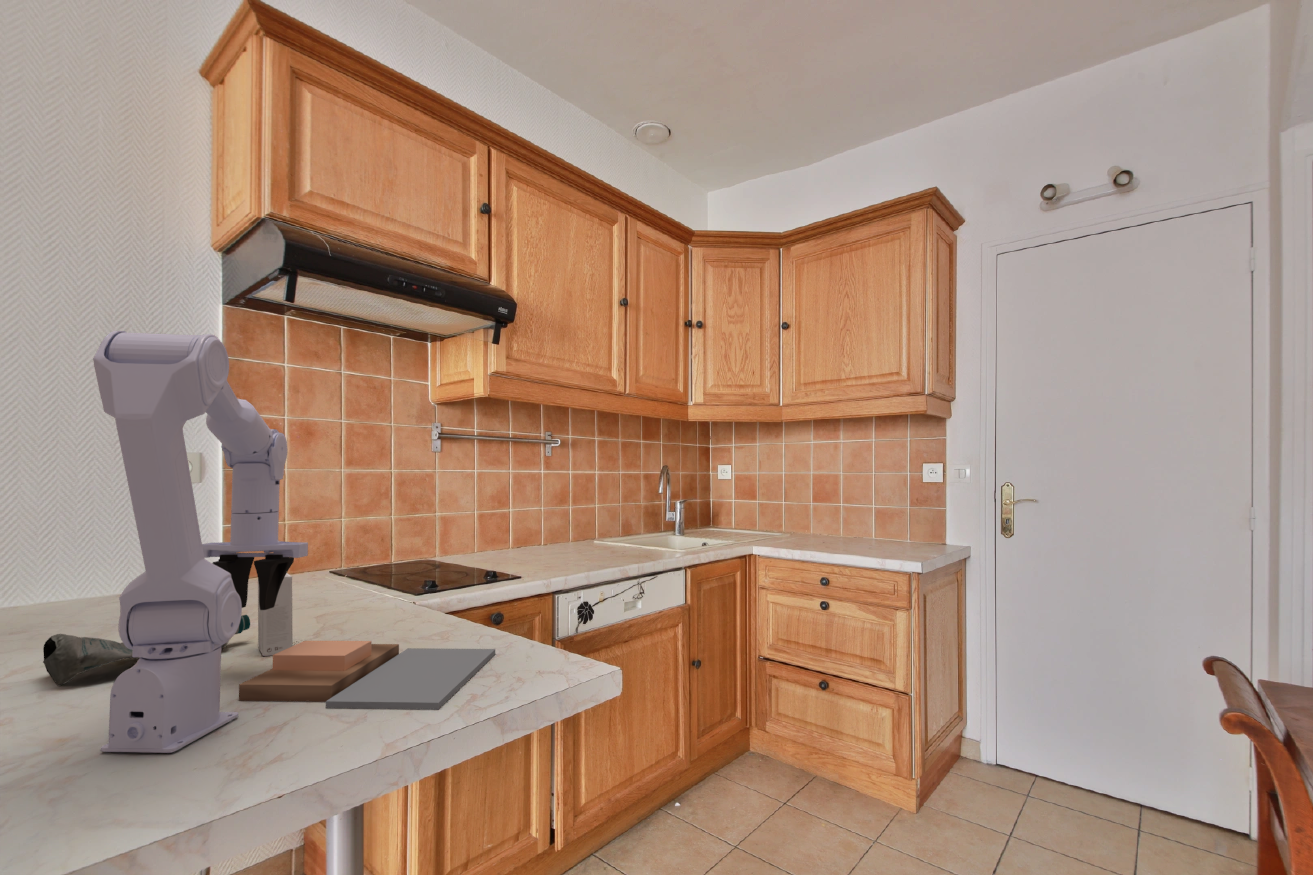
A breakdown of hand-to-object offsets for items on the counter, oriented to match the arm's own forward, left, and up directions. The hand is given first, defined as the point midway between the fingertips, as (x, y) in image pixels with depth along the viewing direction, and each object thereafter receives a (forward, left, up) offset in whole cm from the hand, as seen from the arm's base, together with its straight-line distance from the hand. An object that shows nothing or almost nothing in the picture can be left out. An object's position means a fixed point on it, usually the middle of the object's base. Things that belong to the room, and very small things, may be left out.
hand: (252, 608), depth 87 cm
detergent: (+6, +19, -10) cm, 22 cm away
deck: (0, -11, -9) cm, 14 cm away
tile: (0, -10, -7) cm, 13 cm away
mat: (0, -24, -9) cm, 26 cm away
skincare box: (+12, +5, -10) cm, 16 cm away
